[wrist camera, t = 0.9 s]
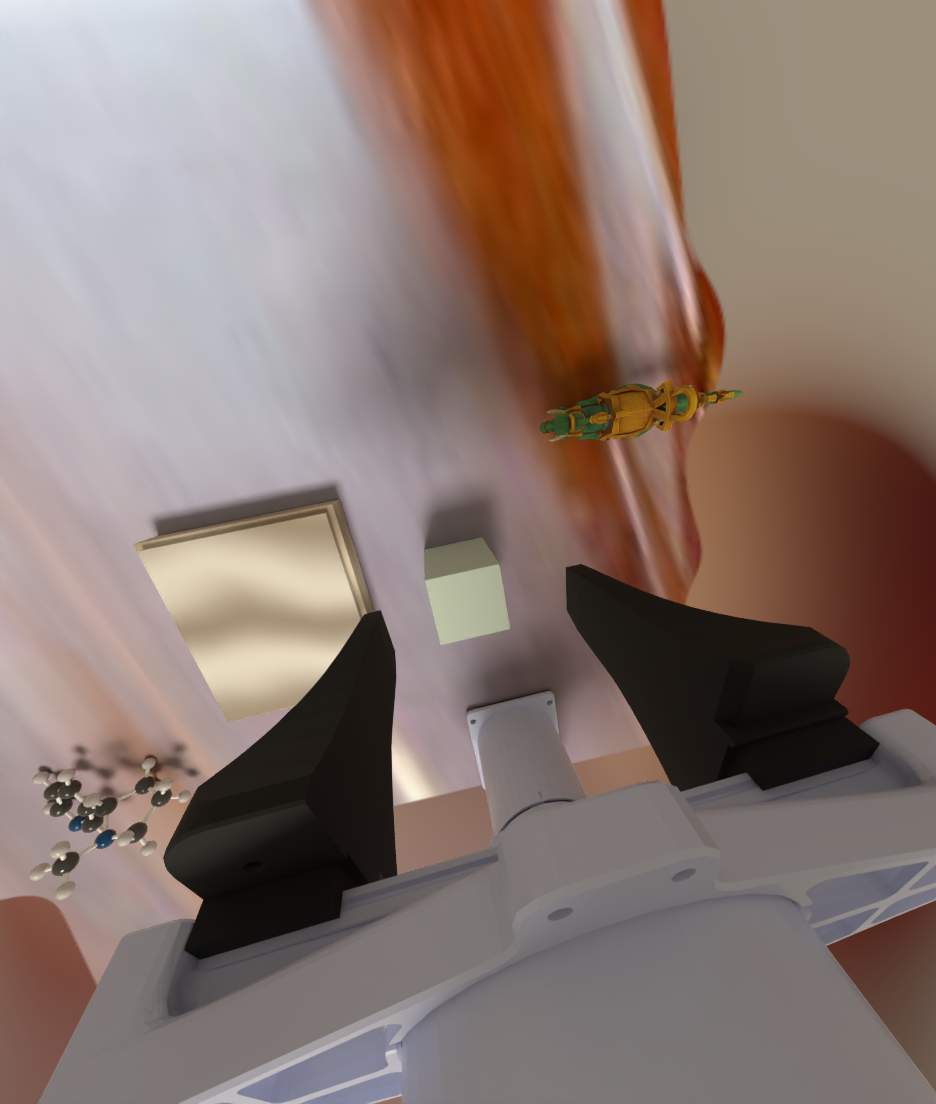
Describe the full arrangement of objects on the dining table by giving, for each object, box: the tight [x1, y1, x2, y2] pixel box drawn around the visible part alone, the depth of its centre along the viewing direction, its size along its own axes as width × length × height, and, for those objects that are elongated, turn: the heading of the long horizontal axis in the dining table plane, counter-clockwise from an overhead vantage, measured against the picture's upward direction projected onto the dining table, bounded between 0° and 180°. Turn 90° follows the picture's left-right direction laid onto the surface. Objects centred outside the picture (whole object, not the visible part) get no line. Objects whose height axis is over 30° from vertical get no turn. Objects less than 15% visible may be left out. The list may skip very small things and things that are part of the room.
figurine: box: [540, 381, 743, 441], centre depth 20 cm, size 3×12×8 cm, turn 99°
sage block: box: [424, 537, 510, 645], centre depth 23 cm, size 4×4×6 cm
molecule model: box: [29, 757, 191, 900], centre depth 25 cm, size 6×12×8 cm, turn 96°
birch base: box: [133, 499, 374, 722], centre depth 24 cm, size 14×12×2 cm
